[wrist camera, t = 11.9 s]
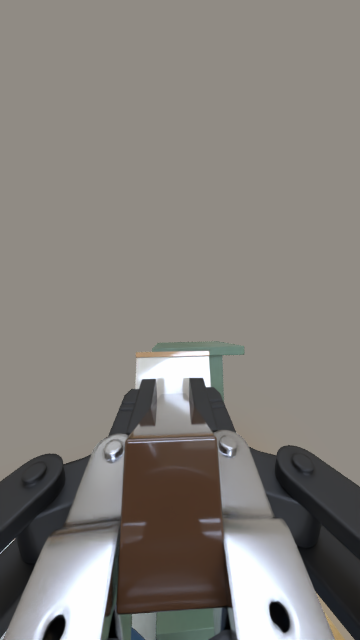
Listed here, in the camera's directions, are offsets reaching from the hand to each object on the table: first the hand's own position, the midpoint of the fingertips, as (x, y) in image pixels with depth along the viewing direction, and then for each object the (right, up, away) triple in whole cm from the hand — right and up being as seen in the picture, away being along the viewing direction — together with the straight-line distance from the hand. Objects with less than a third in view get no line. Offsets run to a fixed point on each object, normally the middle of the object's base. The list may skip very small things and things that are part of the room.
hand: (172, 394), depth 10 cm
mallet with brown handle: (0, -3, +1) cm, 3 cm away
